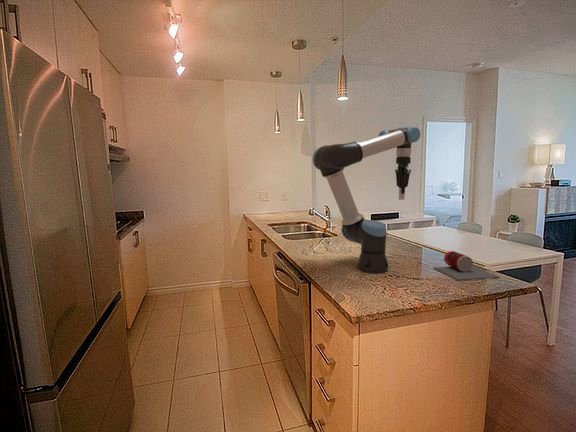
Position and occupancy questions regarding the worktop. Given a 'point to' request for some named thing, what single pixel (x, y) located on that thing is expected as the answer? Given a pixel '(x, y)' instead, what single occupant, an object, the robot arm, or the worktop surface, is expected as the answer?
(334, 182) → the robot arm
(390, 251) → the worktop surface
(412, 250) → the worktop surface
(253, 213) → the worktop surface
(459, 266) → the canned food
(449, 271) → the rubber mat
